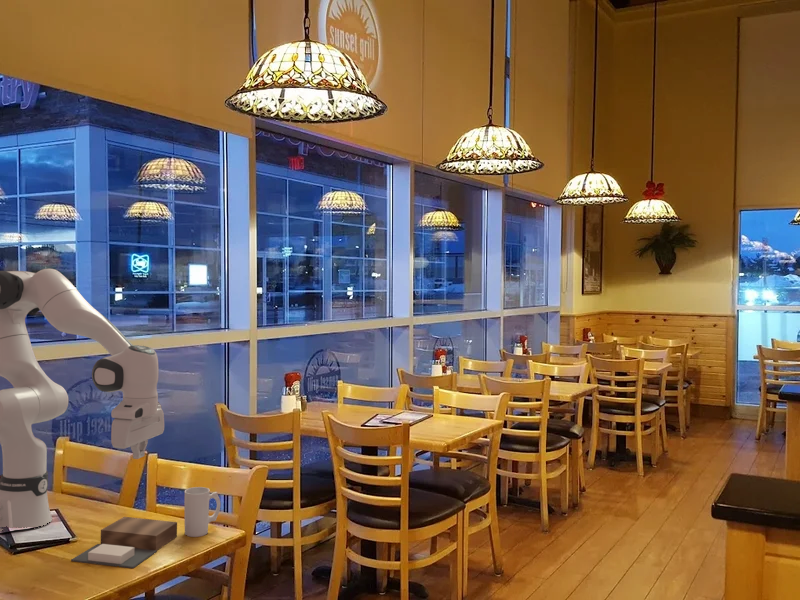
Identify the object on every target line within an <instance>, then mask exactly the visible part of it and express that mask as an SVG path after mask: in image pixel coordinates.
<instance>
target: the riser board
mask: <svg viewBox="0 0 800 600" xmlns="http://www.w3.org/2000/svg"><path fill="white" fill-rule="evenodd" d="M175 537H176V538H177V537H178V521H170V520H169V521H168V520H161V519H160V520H159V519H149V518H141V517H130V516H129V517H128V516H122V517H121V518H120V519H117V520H116V521H114V522H112V523H110V524H109V525H107V526H105V527H103V528H101V529H100V544H109V545H118V546H127V547H134V548H139V549H148V550H157V551H158V550H160V549H161V548H162V546H163V547H164V546H165V545H167V544H168V543H170V542H171V541H173V540H174V539H176V538H175ZM159 548H160V549H159Z"/></svg>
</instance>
